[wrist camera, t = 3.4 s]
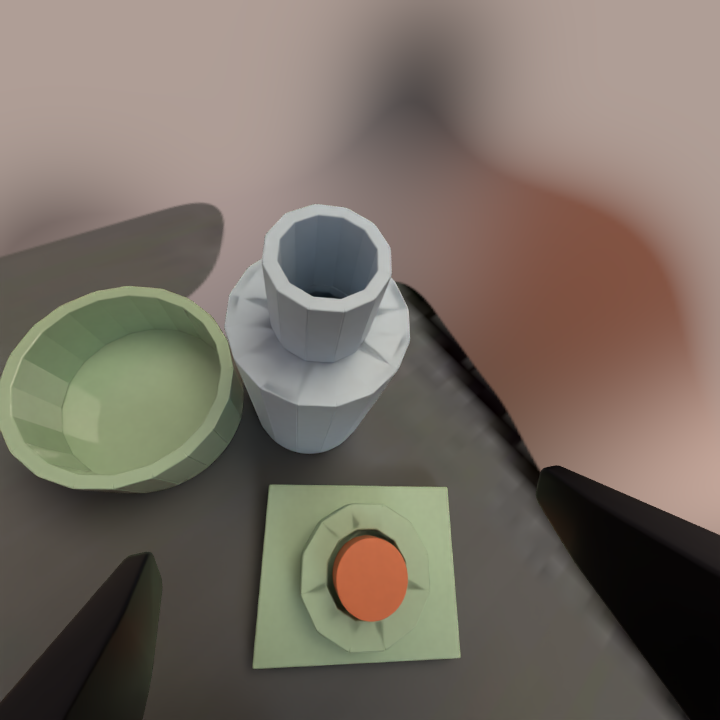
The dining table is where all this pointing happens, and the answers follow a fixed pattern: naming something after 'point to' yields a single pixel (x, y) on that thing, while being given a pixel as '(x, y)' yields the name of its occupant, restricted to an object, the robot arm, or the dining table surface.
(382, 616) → the button
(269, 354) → the bottle
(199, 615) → the dining table surface
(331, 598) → the panel
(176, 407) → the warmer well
